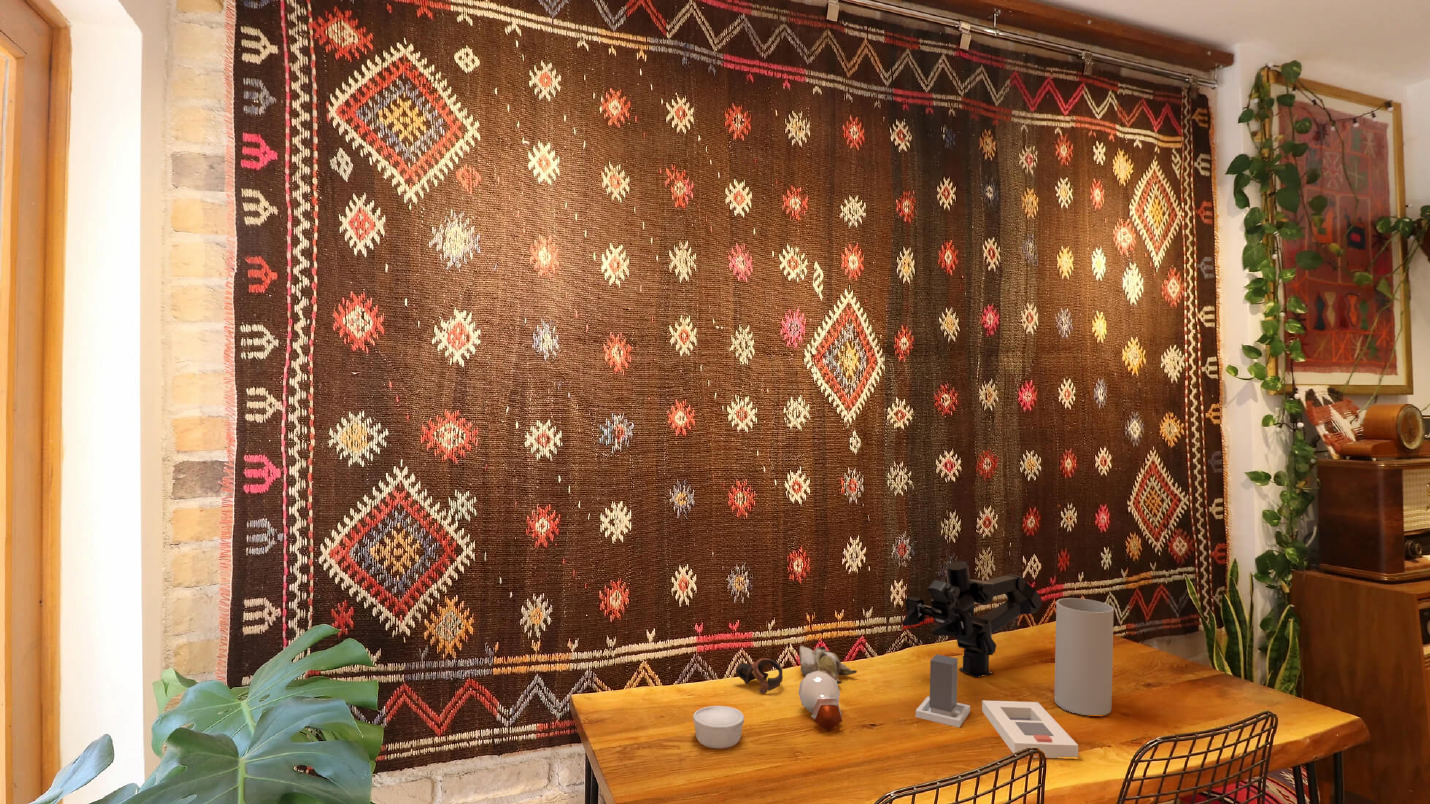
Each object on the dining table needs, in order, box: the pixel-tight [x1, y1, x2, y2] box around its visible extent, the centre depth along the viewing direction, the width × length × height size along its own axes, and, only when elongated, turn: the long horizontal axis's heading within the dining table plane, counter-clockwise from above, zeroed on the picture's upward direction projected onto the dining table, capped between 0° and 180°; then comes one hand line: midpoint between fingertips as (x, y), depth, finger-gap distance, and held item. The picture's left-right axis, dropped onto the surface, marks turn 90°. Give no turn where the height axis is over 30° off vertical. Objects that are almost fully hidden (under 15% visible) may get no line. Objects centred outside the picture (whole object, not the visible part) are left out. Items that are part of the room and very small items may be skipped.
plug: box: [929, 653, 958, 717], centre depth 177 cm, size 5×5×13 cm
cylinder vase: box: [1054, 597, 1115, 716], centre depth 184 cm, size 12×12×25 cm
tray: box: [915, 695, 971, 728], centre depth 177 cm, size 10×10×2 cm
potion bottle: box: [798, 671, 843, 732], centre depth 176 cm, size 10×10×15 cm
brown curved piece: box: [735, 657, 784, 695], centre depth 193 cm, size 12×10×8 cm
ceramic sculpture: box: [799, 645, 858, 685], centre depth 200 cm, size 11×9×15 cm
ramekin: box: [692, 705, 745, 750], centre depth 164 cm, size 11×11×5 cm
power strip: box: [981, 699, 1079, 759], centre depth 168 cm, size 22×13×4 cm, turn 177°
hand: (917, 628), depth 190 cm, fingers open, 9 cm apart
